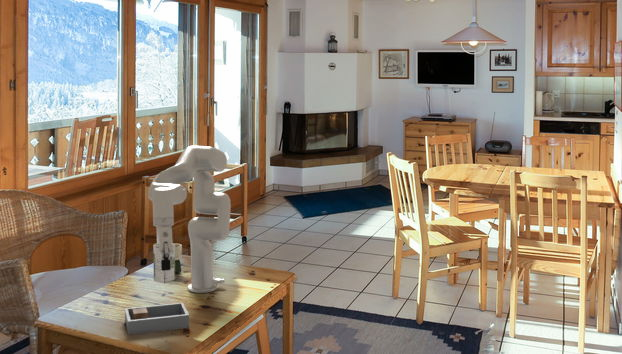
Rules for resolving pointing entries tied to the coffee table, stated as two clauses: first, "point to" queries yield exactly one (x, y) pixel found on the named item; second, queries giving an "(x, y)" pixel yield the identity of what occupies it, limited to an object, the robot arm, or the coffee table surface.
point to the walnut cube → (140, 313)
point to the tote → (158, 318)
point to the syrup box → (158, 273)
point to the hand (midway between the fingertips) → (164, 266)
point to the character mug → (178, 257)
